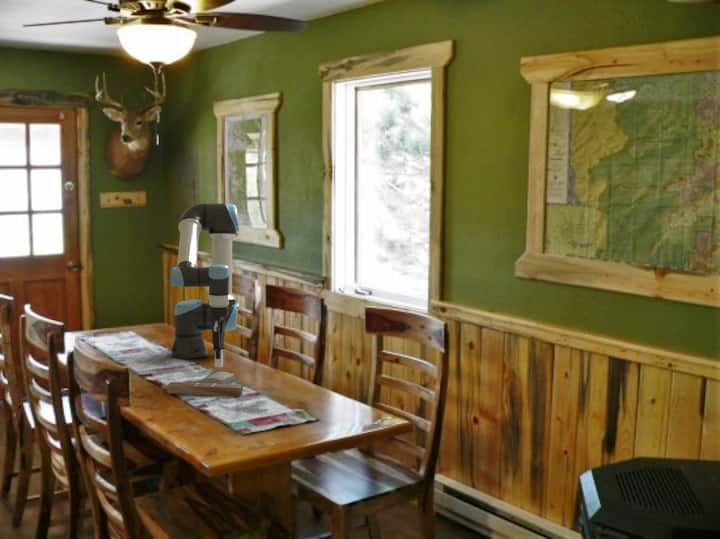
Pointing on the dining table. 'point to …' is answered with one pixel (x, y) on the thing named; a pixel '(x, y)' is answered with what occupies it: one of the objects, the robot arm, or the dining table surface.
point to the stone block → (219, 378)
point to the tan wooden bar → (204, 389)
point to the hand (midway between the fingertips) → (218, 366)
